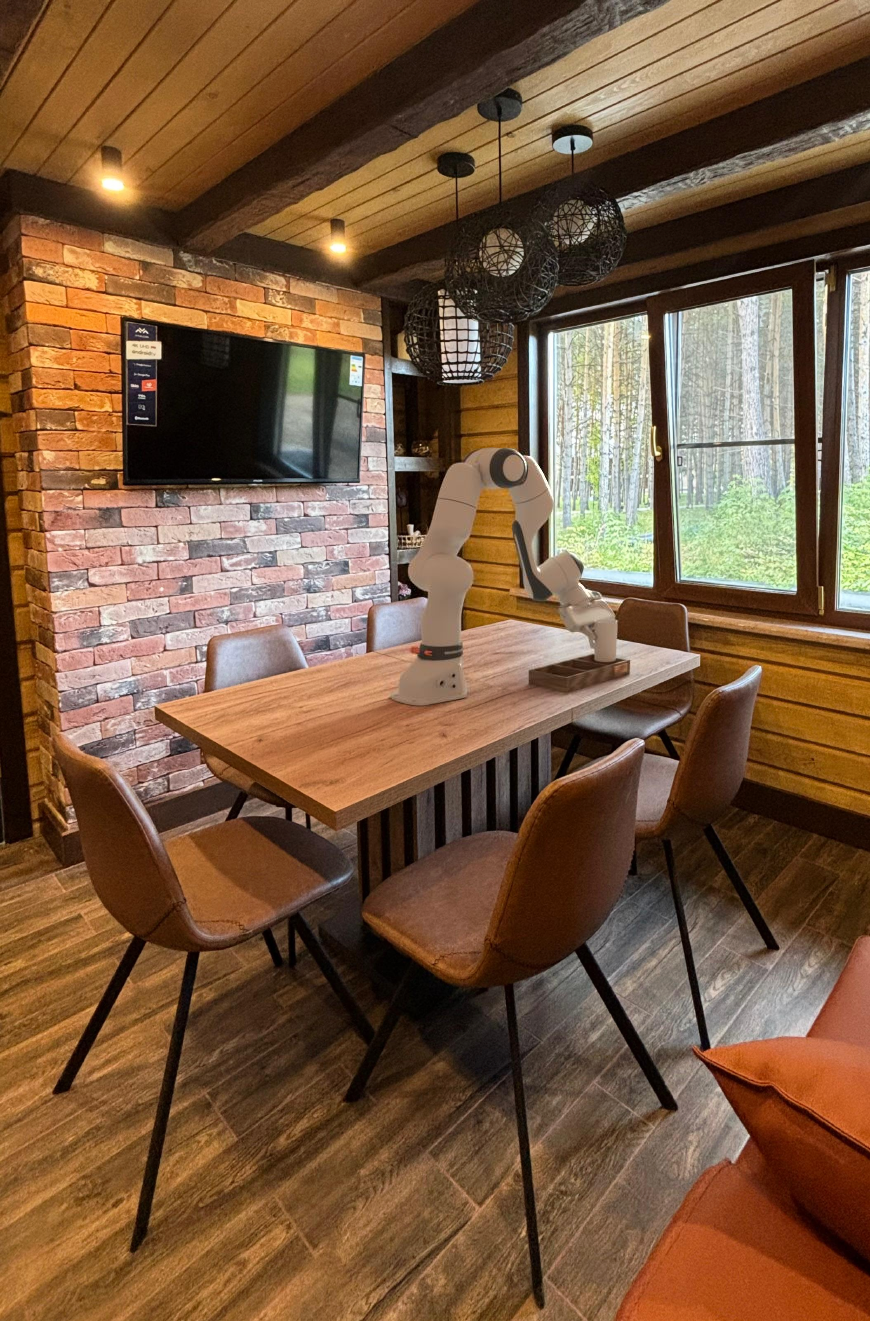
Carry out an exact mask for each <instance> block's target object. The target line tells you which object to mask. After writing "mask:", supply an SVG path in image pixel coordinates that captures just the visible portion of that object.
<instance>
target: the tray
mask: <svg viewBox="0 0 870 1321" xmlns="http://www.w3.org/2000/svg"><path fill="white" fill-rule="evenodd" d="M630 674H631V660H630V659H626V658H621V657H616V660H615V661H612V662H599V661H596V660H595V653H590V654H586V655H581V656H578V657H573V658H570V659H566V660H562V661H558V662H554V663H550V664H547V665H543V666H539V667H536V668H532V669H529V670H528V685H531V686H535V687H540V688H544V689H548V688H549V689H548V690H554V691H557V690H558V692H561V691H562V693H566V692H567V693H570V691H571V692H573V691H572V690H574V691H577V690H580V689H579V688H581V689H584V688H587V687H590V686H593V685H592V684H594V685H596V684H595V683H597V684H599V682H600V683H603V681H604V682H606V681H610V680H613V679H616V678H620V677H624V676H626V675H630ZM586 686H587V687H586ZM583 687H584V688H583ZM576 689H577V690H576Z"/></svg>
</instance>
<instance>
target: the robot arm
mask: <svg viewBox="0 0 870 1321" xmlns="http://www.w3.org/2000/svg"><path fill="white" fill-rule="evenodd" d="M441 483H442V484H441V486H440V489H439V492H438V495H437V499H436V503H435V507H434V511H433V515H432V519H431V523H430V526H429V528H428V530H427V531H428V532H427V533H426V535H425V538H424V539H423V542H422V544H421V546H420V548H419V550H418V552H417V554H416V555H414V557H413V558H412V559H411V560H410V562H409V564H408V568H407V575H408V578H409V580H410V582H412V584H414V586H416V587H417V588H418V589H420V590H422V591H424V592H427V600H426V605H425V608H424V610H423V612H422V614H421V617H420V626H421V627H420V628H421V629H420V631H421V635H420V636H421V642H420V644H419V647H418V646H411V647H410V649H409V652H410V653H411V654H413V655H416V657H417V658H415V660H414V661H413V662H412V663H411V664H410V665H409V666H408V667H407V668H406V669H405V670H404V672H402V674H401V675H400V677H399V681H398V690H396V691H393V692H391V693H390V699H392V700H393V701H394V702H395V701H396V702H398V703H401V704H406V705H410V706H411V705H412V706H421V707H422V706H428V705H433V704H438V703H443V702H449V701H454V700H458V699H459V700H460V699H465V698H468V692H469V689H468V686H467V683H466V678H465V672H464V665H463V655H464V644H463V642H462V610H463V605H464V601H465V598H466V594H467V592H468V591H469V590H470V588H471V587H472V585H473V583H474V577H475V576H474V570H473V567H472V566H471V564H470V563H469V562H467V561H466V560H465V559H463V558H462V557H460V556H458V553H459V552H460V550H461V548H462V547H463V545H464V543H466V542H467V541H468V539H469V538H470V536H471V533H472V529H473V526H474V525H473V524H474V522H475V517H476V513H477V508H478V505H479V499H480V496H481V494H482V492H483V490H485V489H488V490H500V489H502V490H503V489H505V490H507V491H508V493H509V495H510V498H511V501H512V502H513V505H514V510H515V512H514V514H515V516H514V521H513V522H512V524H511V531H512V537H513V541H514V546H515V550H516V554H517V558H518V562H519V566H520V569H521V575H522V583H523V587H524V591H525V592H526V594H527V595H528V597H529V598H530V599H531V600H532V601H536V602H537V601H538V602H546V601H547V600H548V599H550V598H551V597H552V596H553V595H555V596H556V598H557V599H558V601H559V605H558V608H557V612H558V613H559V616H560V619H561V620H562V623H563V624H564V626H565V628H566V629H567V631H568V632H570V633H573V634H574V633H576V632H581V633H582V634H583V635H585V636H586V637H587V638H588V637H589V638H590V640H591V641H593V642H594V640H596V639H597V635H596V634H595V633H594V631H593V630H592V631H590V630H589V629H590V628H591V624H594V623H595V620H598V619H613V620H616V614H615V613H614V610H613V609H612V608H611V607H610V605H609V604H608V602H607V601H605V600H604V599H602V598H603V595H602V593H600V592H598V591H595V590H590V589H587V588H585V587H584V585H583V584H581V582H580V579H581V578H582V575H583V574H584V569H585V566H584V564H583V562H582V561H581V559H580V558H579V556H578V555H577V554H576V553H575V552H571V551H569V550H565V551H562V552H560V553H559V554H558V553H557V555H553V556H551V557H549V558H547V559H546V560H544V562H543V563H541V564H540V565H538V566H537V562H536V558H535V554H534V551H533V541H534V539H535V536H536V534H537V533H538V531H539V530H540V529H541V528H542V526H543V525H544V524H545V523H546V522H547V520H548V519H549V518H550V516H551V515H552V512H553V510H554V506H555V501H554V500H555V499H554V496H553V493H552V490H551V487H550V485H549V483H548V481H547V479H546V477H545V474H544V473H543V471H542V469H541V468H540V466H539V464H538V462H537V461H536V460H535V458H534V457H532V456H529V455H522V454H521V452H519V451H517V450H516V449H513V448H511V447H510V448H509V447H503V448H501V447H500V448H499V447H485V448H482V449H480V448H479V449H478V448H477V449H475V450H472V451H470V452H469V453H467V454H466V455H465V456H464V458H463V459H462V460H461V462H456V463H453V464H452V465H450V466H449V468H448V469H447V471H446V473H445V476H444V478H443V481H442V482H441Z"/></svg>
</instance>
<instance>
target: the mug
mask: <svg viewBox="0 0 870 1321" xmlns="http://www.w3.org/2000/svg"><path fill="white" fill-rule="evenodd" d="M618 621H619V620H617V619H614V620H613V619H598V620H595V623H594V624H591V628H590V629H589V630H590V631H592V632H593V633H595V634H596V635H597V639H596V640H593V641H591V640H590V638H589V637H588V636H587V638H588V643H589V646H590V647H589V648H590V649H593V650H594V654H595V660H596V661H599V662H612V661H615V660H616V658H617V645H618V644H617V641H618Z"/></svg>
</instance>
